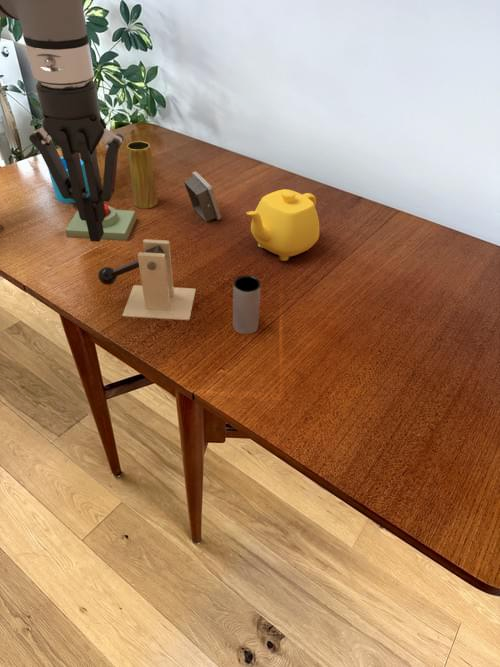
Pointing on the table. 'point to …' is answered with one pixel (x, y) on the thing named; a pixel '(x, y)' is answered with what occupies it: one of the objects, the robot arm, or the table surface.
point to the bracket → (158, 288)
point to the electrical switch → (202, 197)
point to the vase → (142, 175)
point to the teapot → (285, 223)
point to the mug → (56, 190)
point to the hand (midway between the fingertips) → (97, 236)
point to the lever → (122, 268)
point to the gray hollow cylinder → (246, 304)
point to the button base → (105, 225)
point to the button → (106, 209)
